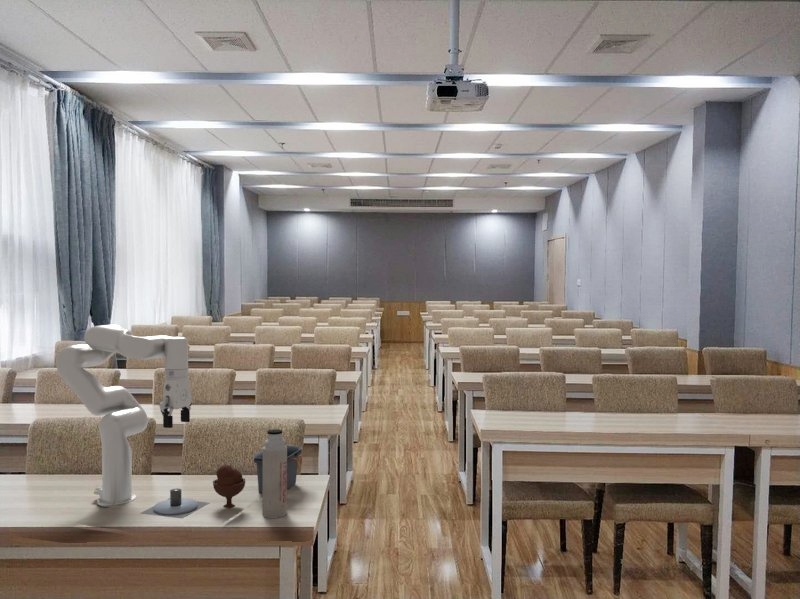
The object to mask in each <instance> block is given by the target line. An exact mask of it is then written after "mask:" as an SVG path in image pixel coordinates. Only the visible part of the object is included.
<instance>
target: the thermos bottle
mask: <svg viewBox="0 0 800 599" xmlns="http://www.w3.org/2000/svg"><path fill="white" fill-rule="evenodd" d="M285 445H286V440H285V439H284V438H283V429H278V428H277V429H275V428H273V429H269V430H267V439H265V440H264V446H262V450H263V494H262V497H261V498H262V499H261V500H262V509H261V510H262V513H261V514H262V516H263V517H264V518H270V519H273V518H274V519H276V518H282V517H284V516H286V515H287V513H288V512H287V510H288V490H287V446H288V445H286V446H285Z"/></svg>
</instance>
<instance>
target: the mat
mask: <svg viewBox="0 0 800 599" xmlns="http://www.w3.org/2000/svg"><path fill="white" fill-rule="evenodd" d="M169 499H170V497H169V498H167V499H166V500H169ZM196 501H197V500H196ZM197 502H198V506H197V508H196V509H195V510H193V511H190V512H187V513H183V514H177V515H163V514H158V513H156V512H154V505H153V506H151V507H149V508H148V509H145V510H143V511H142V512H140V514H143V515H153V516H160V517H168V518H178V519H184V518H186V517H188V516H189V515H191V514H193V513H195V512H196V511H198V510H200V509H202V508H203V507H205V506H207V505H209V504H210V502H207V501H197Z"/></svg>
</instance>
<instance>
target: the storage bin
mask: <svg viewBox="0 0 800 599" xmlns="http://www.w3.org/2000/svg"><path fill="white" fill-rule="evenodd" d="M285 446H287V491H288V490H289V489H290V488H291V487H293V486H294V485H296V484H297V483H296V482H297V473H298V469H300V468H301V467H302V465H303V464H302V463H303V457H302V449H303V446H300V445H299V446H298V445H286V444H285ZM252 458H253V463H254V464H256V472H257V487H258V489H257V490H258V494H259V495H263V449H262V450H261V451H259V452H257V453H255V454H253V455H252ZM299 458H300V465H299Z"/></svg>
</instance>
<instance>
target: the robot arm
mask: <svg viewBox="0 0 800 599" xmlns="http://www.w3.org/2000/svg"><path fill="white" fill-rule="evenodd" d="M84 342H85V343H81V344H80V343H79V344H73V345H72V344H71V345H68V346H65V347H63V348H62V349H60V350H59V351H58V353H57V355H56V359H55V362H56V364H55V366H56V370H57V372H58V375H59V377H60V378H61V379H62V380H63V382H64V383H65V384H66V385H67V386H69V387H70V389H71V390H72V391H73V393H74V394H75V395H76V397H77V398H78V399H79V400H80V402H82V404H83V405H84V407H85V408H86V409H87V410H88V412H89V413H90V414H91V415H93V416H97V417H101V416H103V417H102V418H100V421H99V424H98V432H99V437H100V442H101V476H102V477H101V487H100V486H97V487H96V488H95V490H94V492H93V495H99V498H98V499H97V500H96V501H97V502H96V503H97V505H99V506H100V507H103V508H110V507H112V506H117V505H124V504H127V503H131V502H132V501H133V502H134V500H136V499H137V495H136V494H134V493H132V492H133V490H132V489H133V488H132V486H133V483H132V481H133V480H132V479H133V476H132V474H133V472H132V468H133V464H132V463H133V460H132V458H133V456H132V453H133V452H132V446H131V444H130V442H129V440H128V437H130V436H134V435H137V434H139V433H142V432H143V431H145V430H146V429H147V427H148V424H149V423H148V422H149V417H148V415H147V413H146V411H145V409H144V408H143V407H142V406H141V405H140V403H139V402H138V401H137V399H136V398H135V397H134V395H133V394H132V393H131V392H130V391H129V390H128V389H127V388H125V387H124V386H122V385H121V386H120V385H113V386H112V385H111V386H104V385H103V384H102V383H101V381H100V380H99V379H98V378H97V376H95V375H94V374H93V373H91V372H90V371H88V370H86V369H85V368H91V367H96V366H101V365H102V364H104V363H106V362H107V361H108V360H110V358H111V357H113V356H114V354H120V355H121V356H123V357H124V358H129V359H136V360H140V361H141V360H142V361H145V360H146V361H148V360H153V359H162V358H164V381H163V389H162V391H163V392H162V400H161V402H160V403H159V405H158V406H159V409H160V412H161V416H162V418H163V420H162V423H163V424H162V426H163V428H164V429H168V428H169V429H173V426H174V422H173V420H174V419H173V418H174V417H173V412H174V410H180V422H181V423H190V421H191V416H190V415H191V414H190V413H191V412H190V411H191V409H192V408H191V407H192V405H193V403H192V402H193V398H194V396H193V395H192V390H191V389H192V388H191V381H190V380H191V379H190V377H189V340H188V338H186V337H185V336H169V335H163V334H162V335H152V336H135V335H134V333H132V331H131V330H129V329H125V328H123V327H122V326H120V325H118V324H104V325H103V324H100V325H94V326H92V327H90V328H88V329H87V330H86V331H85V334H84Z"/></svg>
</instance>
